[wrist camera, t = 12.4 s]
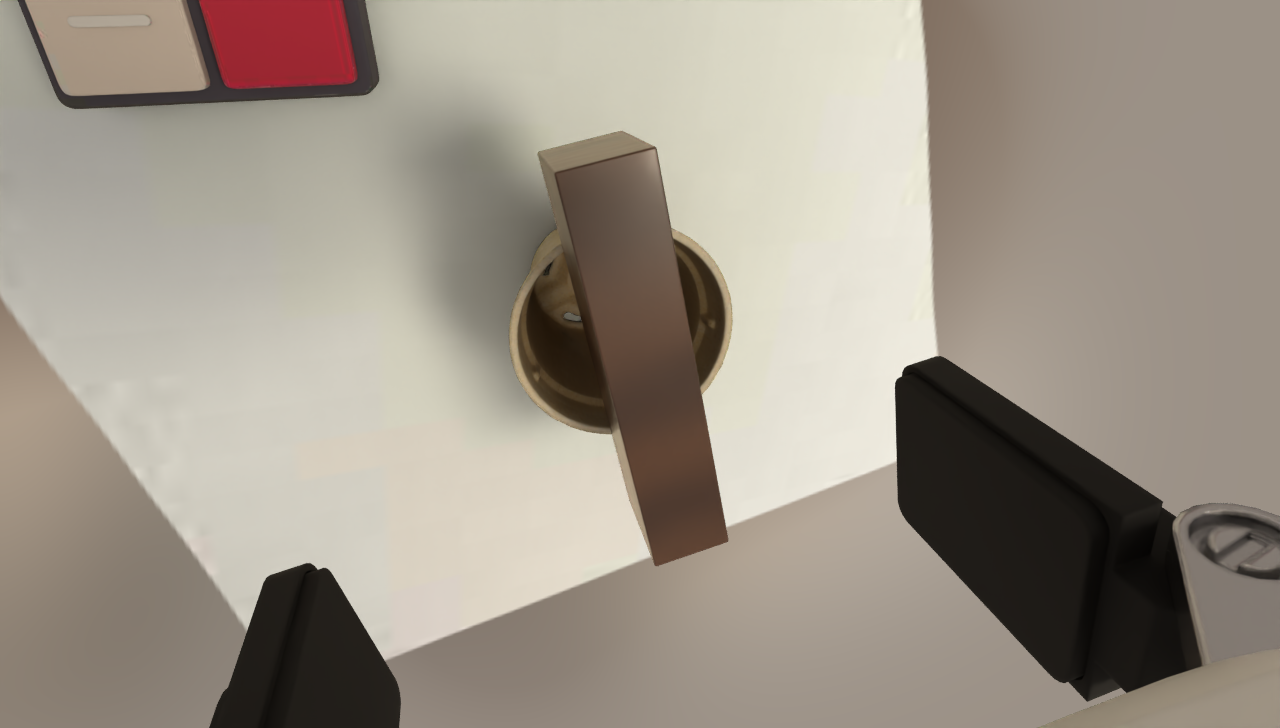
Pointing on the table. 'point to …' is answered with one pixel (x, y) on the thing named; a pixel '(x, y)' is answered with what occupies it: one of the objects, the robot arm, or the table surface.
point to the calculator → (201, 50)
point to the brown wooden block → (638, 335)
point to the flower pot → (558, 347)
